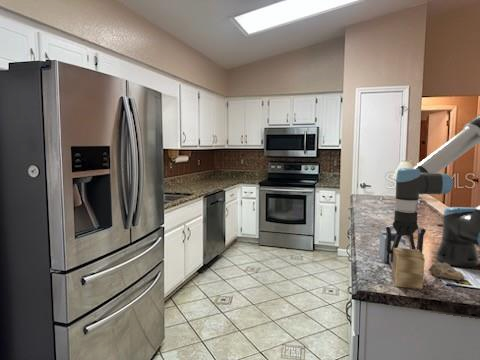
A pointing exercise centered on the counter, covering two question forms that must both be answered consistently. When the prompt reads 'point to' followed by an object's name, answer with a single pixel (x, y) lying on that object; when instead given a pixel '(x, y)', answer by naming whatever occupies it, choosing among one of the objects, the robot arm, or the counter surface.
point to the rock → (445, 271)
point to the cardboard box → (408, 268)
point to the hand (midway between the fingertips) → (402, 271)
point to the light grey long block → (398, 247)
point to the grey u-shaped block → (382, 246)
